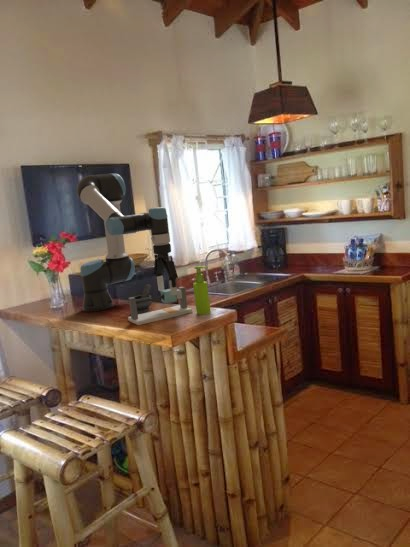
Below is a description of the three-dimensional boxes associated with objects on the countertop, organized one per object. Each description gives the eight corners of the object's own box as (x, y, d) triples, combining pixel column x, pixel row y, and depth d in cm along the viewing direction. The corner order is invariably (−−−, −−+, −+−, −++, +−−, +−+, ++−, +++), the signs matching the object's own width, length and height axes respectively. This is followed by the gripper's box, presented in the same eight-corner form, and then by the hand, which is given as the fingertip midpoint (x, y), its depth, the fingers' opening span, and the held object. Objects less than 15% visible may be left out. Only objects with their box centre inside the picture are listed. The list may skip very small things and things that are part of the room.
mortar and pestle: (139, 315, 222) (135, 289, 220) (127, 313, 229) (124, 287, 227) (159, 309, 229) (156, 283, 227) (148, 307, 236) (144, 282, 235)
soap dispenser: (210, 314, 208) (204, 267, 205) (194, 315, 211) (188, 268, 208) (214, 310, 214) (209, 264, 211) (199, 311, 216) (194, 265, 213)
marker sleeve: (161, 301, 218) (160, 290, 218) (172, 299, 221) (170, 288, 220) (166, 303, 214) (164, 292, 213) (176, 301, 216) (175, 289, 215)
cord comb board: (128, 320, 216) (124, 296, 214) (180, 308, 227) (177, 285, 225) (138, 325, 205) (134, 300, 203) (192, 312, 216) (189, 288, 214)
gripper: (142, 243, 223) (149, 290, 226) (165, 246, 201) (171, 298, 204) (158, 241, 226) (164, 287, 229) (182, 243, 204) (188, 294, 208)
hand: (167, 292), depth 217 cm, fingers open, 13 cm apart
